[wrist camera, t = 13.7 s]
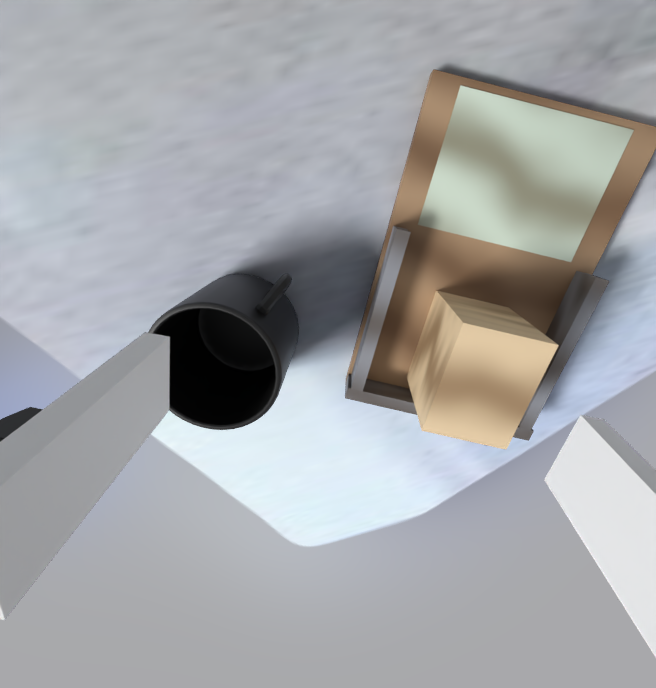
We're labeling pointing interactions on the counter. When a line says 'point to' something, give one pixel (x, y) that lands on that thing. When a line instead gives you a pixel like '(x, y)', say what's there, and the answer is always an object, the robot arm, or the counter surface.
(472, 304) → the oak block
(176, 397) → the mug
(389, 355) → the slot board
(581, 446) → the robot arm
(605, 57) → the counter surface
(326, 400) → the counter surface
